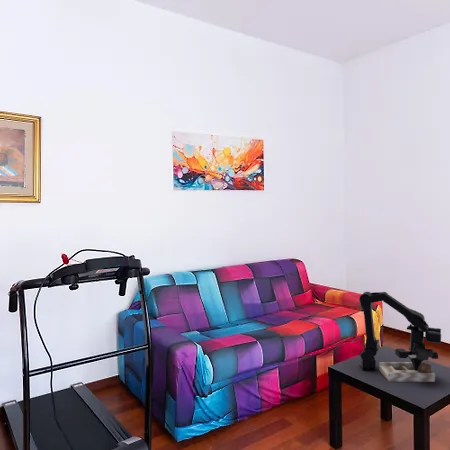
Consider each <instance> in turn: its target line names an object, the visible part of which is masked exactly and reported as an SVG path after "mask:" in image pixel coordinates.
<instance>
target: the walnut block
mask: <svg viewBox="0 0 450 450" xmlns="http://www.w3.org/2000/svg"><path fill="white" fill-rule="evenodd" d="M431 370H432V365H431V364H430V363H429V362H427V361H422V362H421V363H420V365H419V367H418V370H417V371H418V372H419V373H431Z"/></svg>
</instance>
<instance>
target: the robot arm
mask: <svg viewBox="0 0 450 450" xmlns="http://www.w3.org/2000/svg"><path fill="white" fill-rule="evenodd" d="M358 299H359V303H360V306H361V309H362V310H363V316H364V317H363V318H364V319H363V320H364V327H365V337H366V340H365V344H364V346H365V347H364V348H363V350H362V351H361V353H360V355H359V356H360V364H358V365H359V367H360V369H361V370H362V371H363V372H366V371H367V372H373V371H374V372H376V371H377V369H376V366H377V364H376V363H377V362H376V358H375V357H376V356H377V354H378V352H379V350H380V348H381V346H380V339H377V337H376V335H375V325H374V316H373V306H374V303H378V302H383V303H385V304H387V305H388V306H390V307H391V308H392V309H394V311H396V312H398V313H400V314H401V315H402V316H403V317H404V318H405V319H406V320H407V321H408V322H409V323H410V324H409V325H407V327H406V330H408V331H410V338H409V339H408V340H409V343H410V344H409V346H410V347H408V350H405V349H404V348H396V349H395V350H394V354H395V355H396V356H397V357H398V358H399V359H407V358H409V359H410V362H412V364H413V367H414V370H415V371H417V370H418V367H419V365H420V363H421V362H424V361H428V360H429V358H431V359H433V360H437V359H438V360H439V353H438V352H437V351H435V350H434V349H432V348H426V344H425V343H424V340H426V341H427V342H429V343H436V344H442V329H441V328H439V327H438V328H436V327H431V326H429V324H428V322H427V321H426V320H425V318H426V317H425V316H424V314H423V313H421V312H419V311H416V310H414V309H412V308H409V307H407V306H406V305H405V304H403V303H402V302H400V301H399V300H397V299H396V298H394V297H393V296H391V295H390V294H389V293H388V292H386V291H380V292H376V291H375V292H371V291H364V292H363V293H362V294H360V296H359V298H358Z"/></svg>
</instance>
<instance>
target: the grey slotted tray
mask: <svg viewBox="0 0 450 450" xmlns="http://www.w3.org/2000/svg"><path fill="white" fill-rule="evenodd" d="M378 371H379V372H380V373H381V374H382V376H384V377H385V379H386V380H387V381H388V382H405V383H406V382H422V383H423V382H427V383H428V382H432V383H433V382H436V373H435V372H434V371H433V370H432V369H431V373H419V372H418V371H415V370H414V367H413V364H412V362H411V361H410V362H408V361H407V362H406V361H405V362H401V361H399V362H398V361H397V362H396V361H393V362H391V361H390V362H389V361H388V362H387V361H385V362H383V361H379V362H378Z"/></svg>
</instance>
